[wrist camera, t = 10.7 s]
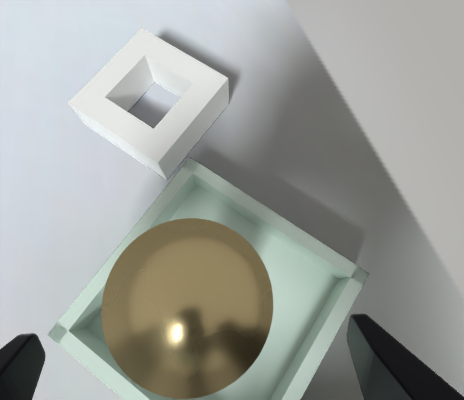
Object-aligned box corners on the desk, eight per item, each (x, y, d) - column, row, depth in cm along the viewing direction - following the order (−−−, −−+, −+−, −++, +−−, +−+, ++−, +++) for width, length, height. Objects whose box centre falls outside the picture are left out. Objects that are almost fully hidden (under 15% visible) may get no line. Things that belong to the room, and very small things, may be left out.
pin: (216, 348, 19) (189, 445, 6) (174, 306, 20) (65, 308, 7) (255, 301, 20) (307, 293, 7) (213, 263, 21) (186, 187, 7)
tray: (241, 471, 18) (243, 503, 15) (73, 330, 20) (47, 334, 17) (351, 277, 21) (369, 273, 18) (195, 174, 24) (190, 157, 21)
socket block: (166, 179, 23) (157, 162, 21) (86, 125, 25) (67, 102, 22) (229, 103, 25) (228, 78, 23) (151, 57, 27) (141, 28, 24)
